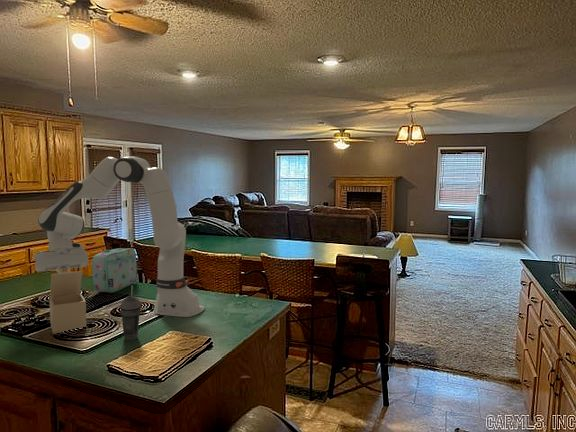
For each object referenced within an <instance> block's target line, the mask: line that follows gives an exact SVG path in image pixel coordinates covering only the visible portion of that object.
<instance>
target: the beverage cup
mask: <svg viewBox="0 0 576 432" xmlns="http://www.w3.org/2000/svg"><path fill="white" fill-rule="evenodd" d="M130 286H131V287H130V289H131V290H130V295H128V296H126V297H124V298H123V299H122V301H121V303H120V307H119V310H120V314H121V322H122V323H121V324H122V330H123V338H124V340H125V341H134V340H136V339H138V333H139V324H140V313H141V308H142V304H141V301H140V299H139V298H138V297H136V296H134V295H133V291H134V285H133V284H131V285H130Z"/></svg>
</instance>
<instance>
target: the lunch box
mask: <svg viewBox="0 0 576 432" xmlns="http://www.w3.org/2000/svg"><path fill="white" fill-rule="evenodd" d="M91 275H92V284H93V290H94V291H95V292H97V293H110V294H111V293H115V292H119V291H120V290H123V289H125V288H127V287H129V286H131V285H133V284H134V283H135V282H136V281H137V276H138V267H137V253H136V250H135V248H132V247H130V248H128V247H127V248H121V247H119V248H113V249H104V250H103V251H101V252H99V253H96V254H95V255H94V256H93V257H92V259H91Z"/></svg>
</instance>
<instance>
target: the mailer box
mask: <svg viewBox="0 0 576 432" xmlns="http://www.w3.org/2000/svg"><path fill="white" fill-rule="evenodd" d="M49 323H50V324H51V325H50V324H49V325H50V329H51V332H52V334H53V336H55V335H57V334H56V333H60V332H63V331H67V330H72V329H76V328H83V327H86V328H87V301H86V299H85V298H84V296H83V294H82V293H81V292H80V293H77V294H72V295H64V296H56V297H54V296H53V297H49ZM54 334H55V335H54Z"/></svg>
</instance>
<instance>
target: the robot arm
mask: <svg viewBox="0 0 576 432" xmlns="http://www.w3.org/2000/svg"><path fill="white" fill-rule="evenodd" d="M119 181H122V182H124V183H125V182H126V183H134V184H135V183H138V184H139V183H140V184H142V186H143V188H144V191H145V195H146V199H147V202H148V206H149V210H150V214H151V221H152V222H151V224H152V231H153V237H152V238H153V243H154V245H155V246H156V247H157V248H159V253H158V258H157V278H156V288H157V289H156V291H157V292H156V298H155V304H154V307H153V311H154V313H156V314H155V315H158V314H160V315H159V316H169V317H177V318H178V317H180V318H181V317H182V318H190V317H194V316H196V315H198V314H199V315H200V313H202V312H203V311H204V310H205V306H204V305H201V304H200V300H199V296H198V295H197V294H196V293H195V292H194V291H193V290H192V289H191V288H190V287H188V286H187V283H188V282H189V279H185V277H184V257H185V250H186V249H185V248H186V238H187V237H186V236H187V230H186V227H185V225H184V224H183V223H181V222H179V221H178V214H177V213H178V212H177V204H176V200H175V196H174V192H173V190H172V185H171V182H170V180H169V177H168V175H167V173H166V171H165V170H164V169H163V168H161V167H155V166H154V167H153V165H152V163H151V162H150V161H149V160H148V159H147V158H144V157H139V156H133V155H132V156H122V157H120V158H116V157H113V156H107V157H105V158H103V159H102V160H101V161H100V162H99V163H98V164H97V166H96V167H94V169H93V170H92V171H91V172H90V173H89V175H88V176H87V177H85V178H83V179H82V180H80V181H75V182H74V183H72V184H71V185H69V187H68V188H67V189H66V190H64V191H63V192H62V194H60V195H59V196H58V198H56V199H55V200H54V201H53V202H52V203H51V204H50V205H49V206H48V207H46V208H45V209H43V210H42V211H41V212H40V213H39V215H38V217H37V221H38V222H37V223H38V225H39V226H40V228H41V229H42V230H43V231H44V232H45V231H46V232H47V233H46V235H47V241H48V250H44V251H43V250H42V251H37V252H35V253H34V254H33V260H34V261H35V270H36V272H49V271H56V272H57V273H65V272H71V269H75V268H85V267H87V266H89V260H90V259H89V257H88V254H87V252H86V250H85V249H84V245H83V244H82V243H77V242H72V241H71V240H74V239H76V238H78V237H79V236H80V235H82V233H84V231H85V226H86V225H85V220H84V218H83V217H82V216H80V215H77V214H74V213H71V212H68V211H67V212H66V209H68V208H69V207H70V206H71V204H73V203H74V202H75V201H77V200H81V199H101V198H106V197H107V196H108V195H110V194H111V193H112V191H113V190H114V189H115V187H116V186H117V184H118V183H119ZM63 270H65V271H63Z"/></svg>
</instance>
